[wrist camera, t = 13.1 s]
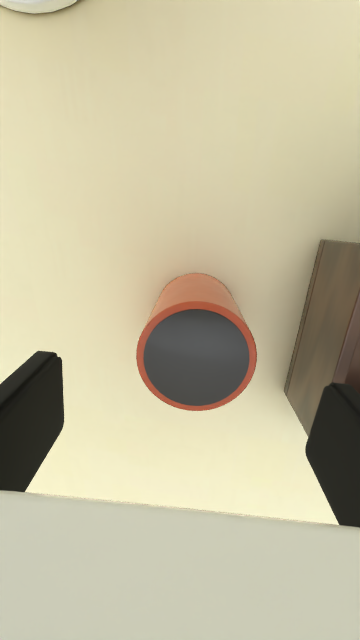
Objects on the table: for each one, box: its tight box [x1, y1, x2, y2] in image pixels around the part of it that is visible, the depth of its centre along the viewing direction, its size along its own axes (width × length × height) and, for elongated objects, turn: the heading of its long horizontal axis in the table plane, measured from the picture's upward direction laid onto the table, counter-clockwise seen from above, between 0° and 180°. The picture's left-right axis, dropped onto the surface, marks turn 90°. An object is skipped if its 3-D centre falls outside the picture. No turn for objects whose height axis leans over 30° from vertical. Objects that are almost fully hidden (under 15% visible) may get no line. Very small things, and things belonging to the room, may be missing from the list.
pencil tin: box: [136, 273, 257, 411], centre depth 20 cm, size 6×6×9 cm
